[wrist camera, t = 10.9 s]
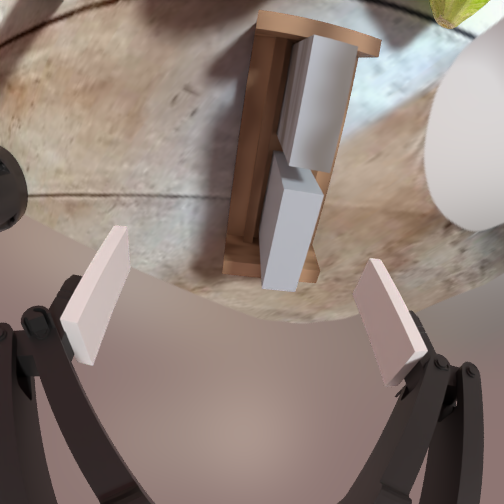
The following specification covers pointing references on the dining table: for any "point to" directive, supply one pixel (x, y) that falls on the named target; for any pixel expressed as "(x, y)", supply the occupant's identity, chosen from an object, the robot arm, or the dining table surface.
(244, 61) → the dining table surface
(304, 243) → the gray angular faceted block
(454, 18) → the lettuce
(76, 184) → the dining table surface
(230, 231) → the wooden slotted stand
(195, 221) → the dining table surface
